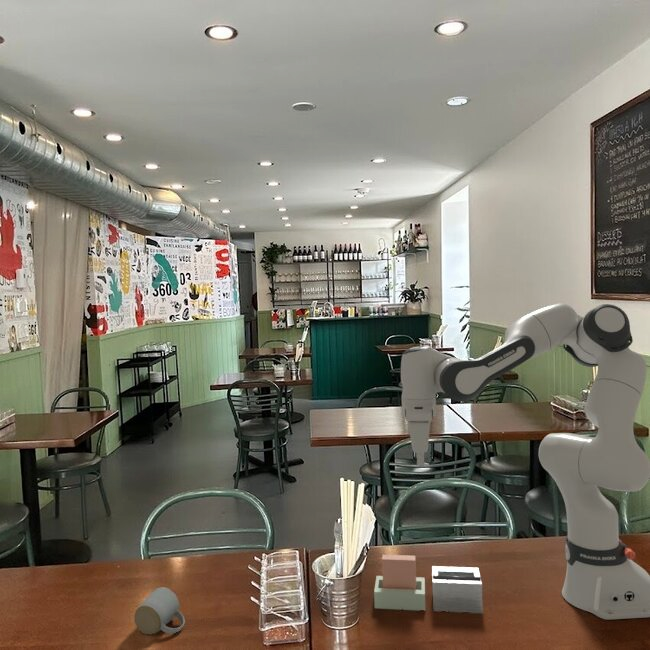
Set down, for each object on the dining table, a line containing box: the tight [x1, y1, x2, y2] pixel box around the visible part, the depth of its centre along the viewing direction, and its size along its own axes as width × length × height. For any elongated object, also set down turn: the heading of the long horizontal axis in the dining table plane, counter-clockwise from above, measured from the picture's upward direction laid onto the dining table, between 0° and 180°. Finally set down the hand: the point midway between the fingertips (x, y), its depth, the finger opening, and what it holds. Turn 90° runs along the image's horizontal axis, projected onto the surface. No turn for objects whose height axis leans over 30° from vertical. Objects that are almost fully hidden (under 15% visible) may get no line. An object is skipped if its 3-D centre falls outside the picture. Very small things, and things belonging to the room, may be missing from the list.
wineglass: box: [333, 517, 343, 540], centre depth 161 cm, size 6×6×12 cm
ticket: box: [381, 554, 417, 590], centre depth 140 cm, size 8×2×10 cm, turn 81°
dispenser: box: [431, 565, 484, 614], centre depth 137 cm, size 11×8×8 cm
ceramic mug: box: [133, 586, 186, 636], centre depth 132 cm, size 11×8×8 cm
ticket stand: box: [373, 575, 427, 612], centre depth 140 cm, size 12×8×4 cm, turn 81°
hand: (420, 460), depth 150 cm, fingers open, 8 cm apart
